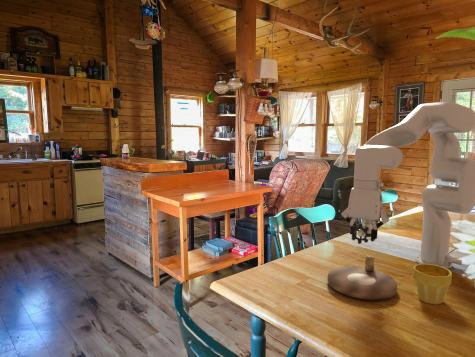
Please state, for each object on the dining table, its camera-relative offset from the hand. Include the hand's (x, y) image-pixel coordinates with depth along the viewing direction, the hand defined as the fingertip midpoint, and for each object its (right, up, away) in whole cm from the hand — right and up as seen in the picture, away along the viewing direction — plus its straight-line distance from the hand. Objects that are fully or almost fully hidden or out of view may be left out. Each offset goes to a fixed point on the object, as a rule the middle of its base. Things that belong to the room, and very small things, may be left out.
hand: (363, 238), depth 111 cm
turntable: (0, -16, +2) cm, 16 cm away
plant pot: (+18, -18, -6) cm, 27 cm away
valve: (+1, -1, +1) cm, 2 cm away
